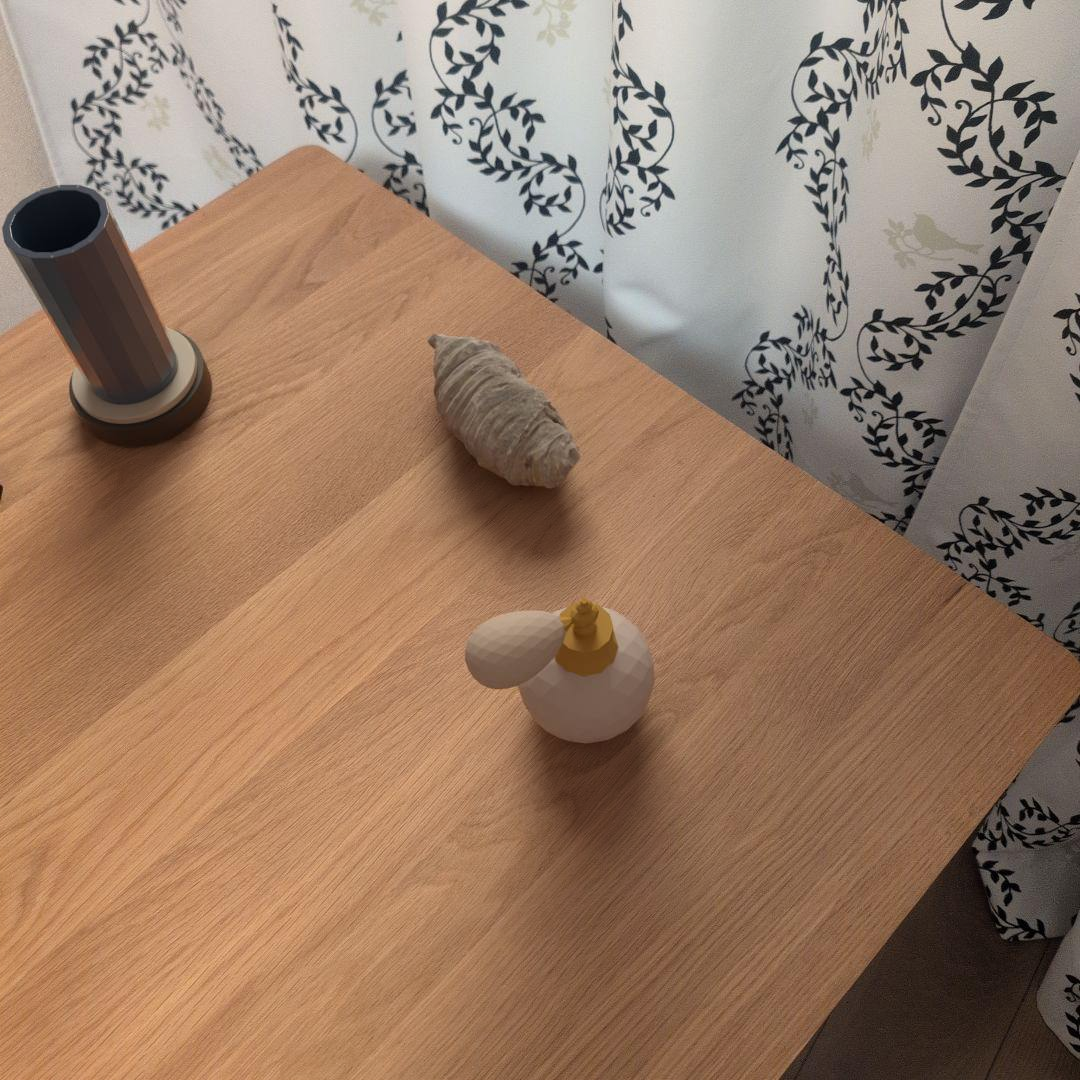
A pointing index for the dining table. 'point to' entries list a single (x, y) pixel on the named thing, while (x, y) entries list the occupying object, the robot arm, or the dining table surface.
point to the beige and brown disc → (149, 403)
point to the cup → (92, 291)
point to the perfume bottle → (567, 668)
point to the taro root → (500, 413)
